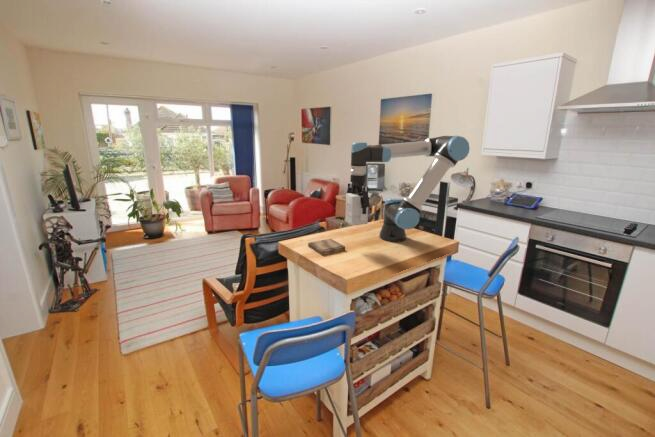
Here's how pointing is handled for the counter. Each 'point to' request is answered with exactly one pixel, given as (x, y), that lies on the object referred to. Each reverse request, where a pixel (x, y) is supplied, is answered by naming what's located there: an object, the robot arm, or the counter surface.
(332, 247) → the walnut stand
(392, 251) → the counter surface
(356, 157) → the robot arm
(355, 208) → the supplement box
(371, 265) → the counter surface
